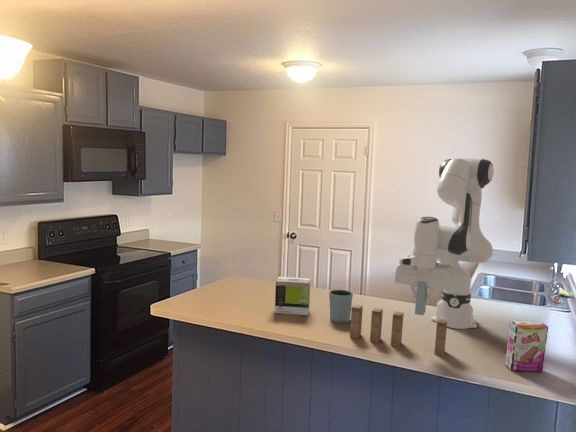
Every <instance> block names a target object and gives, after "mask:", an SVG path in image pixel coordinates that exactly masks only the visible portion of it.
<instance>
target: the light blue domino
mask: <svg viewBox="0 0 576 432" xmlns="http://www.w3.org/2000/svg"><path fill="white" fill-rule="evenodd" d="M416 292H417V293H416V298H415V308H414V315H418V316H424V315H425V313H426V310H427V309H426V308H427V299H425V296H426V294H428V288H427V287H426V283H424V282H417V286H416Z"/></svg>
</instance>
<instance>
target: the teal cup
mask: <svg viewBox="0 0 576 432" xmlns="http://www.w3.org/2000/svg"><path fill="white" fill-rule="evenodd" d="M328 294H329V319H330V321H331V322H334V323H340V324H345V323H349V322H351V312H352V306H353V305H352V303H353V297H354V295H353V294H354V293H353V292H352V291H350V290H346V289H345V290H344V289H333V290H332V289H331V290H330V291H329V293H328Z"/></svg>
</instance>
